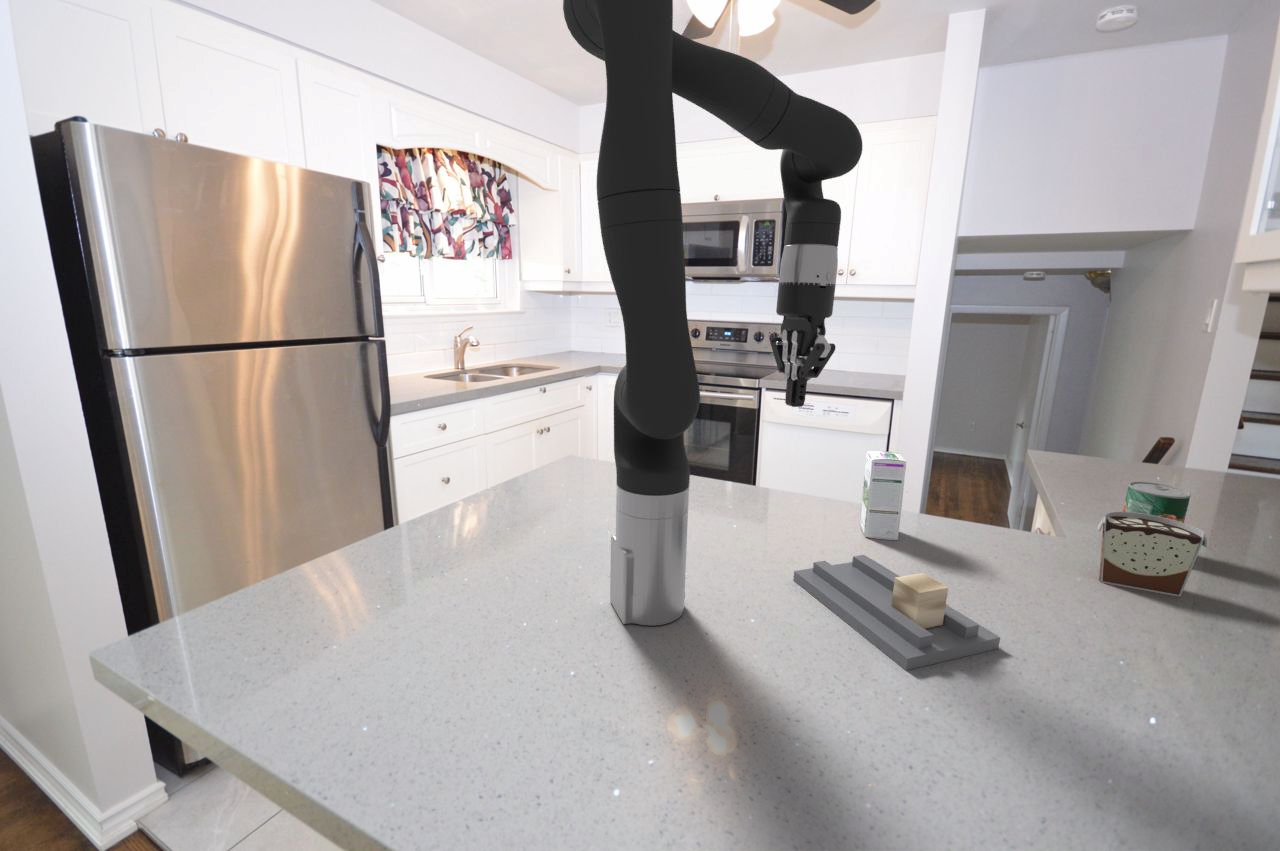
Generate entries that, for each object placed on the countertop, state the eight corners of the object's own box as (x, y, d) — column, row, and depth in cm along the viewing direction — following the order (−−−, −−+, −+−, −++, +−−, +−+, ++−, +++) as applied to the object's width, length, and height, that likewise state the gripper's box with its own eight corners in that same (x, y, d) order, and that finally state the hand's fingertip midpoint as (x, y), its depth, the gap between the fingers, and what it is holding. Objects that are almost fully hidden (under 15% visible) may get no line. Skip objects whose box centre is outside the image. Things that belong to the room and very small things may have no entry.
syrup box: (898, 541, 100) (909, 460, 96) (863, 537, 101) (872, 458, 98) (891, 528, 105) (901, 452, 102) (857, 525, 106) (866, 449, 103)
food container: (1176, 581, 87) (1191, 519, 85) (1194, 599, 82) (1210, 533, 80) (1077, 564, 92) (1089, 505, 90) (1088, 580, 87) (1101, 518, 85)
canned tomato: (1172, 564, 93) (1187, 500, 91) (1111, 548, 99) (1124, 487, 96) (1179, 551, 98) (1194, 490, 96) (1120, 536, 104) (1133, 478, 101)
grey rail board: (793, 580, 85) (795, 561, 84) (870, 567, 89) (872, 550, 89) (905, 670, 64) (909, 646, 64) (998, 648, 69) (1002, 626, 68)
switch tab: (890, 613, 73) (895, 577, 72) (917, 608, 74) (922, 572, 73) (914, 630, 69) (919, 592, 68) (942, 624, 71) (948, 587, 70)
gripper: (758, 280, 83) (748, 398, 87) (812, 278, 71) (798, 415, 75) (802, 283, 86) (791, 397, 90) (862, 282, 74) (846, 414, 77)
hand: (794, 405), depth 82 cm, fingers closed
